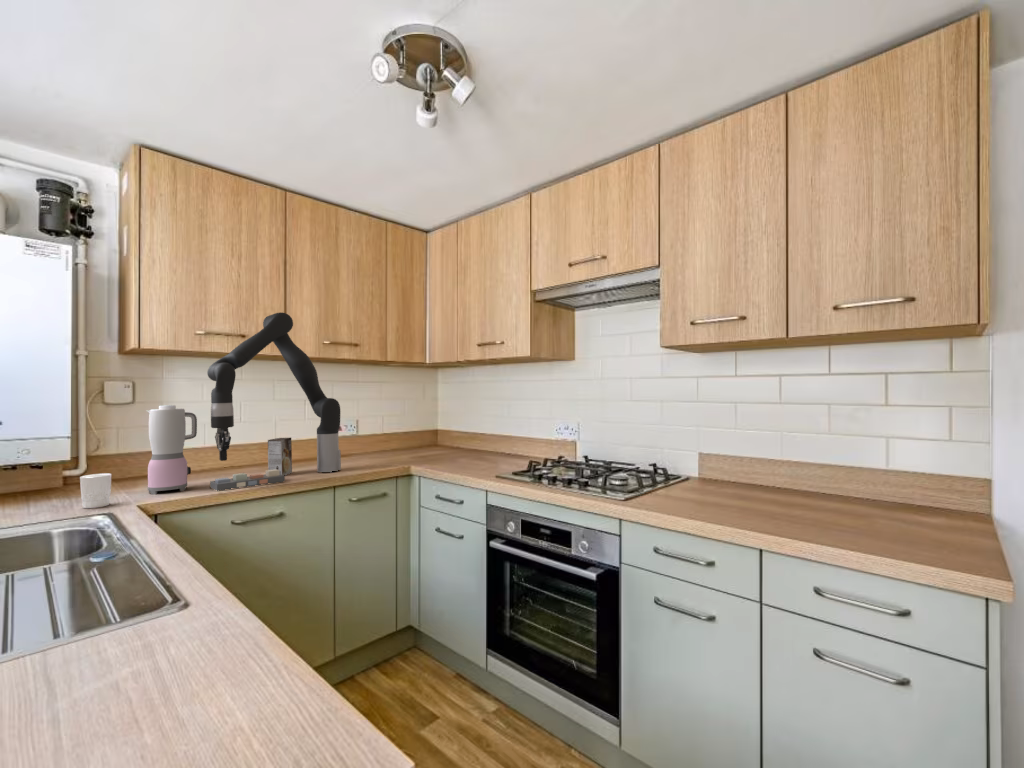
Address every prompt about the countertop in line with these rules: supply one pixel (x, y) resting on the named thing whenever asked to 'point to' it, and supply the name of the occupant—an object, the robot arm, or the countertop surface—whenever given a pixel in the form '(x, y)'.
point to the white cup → (95, 490)
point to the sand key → (272, 472)
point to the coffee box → (280, 455)
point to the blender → (168, 448)
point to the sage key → (239, 476)
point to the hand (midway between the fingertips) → (223, 460)
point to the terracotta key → (256, 476)
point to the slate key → (222, 480)
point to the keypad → (246, 482)
